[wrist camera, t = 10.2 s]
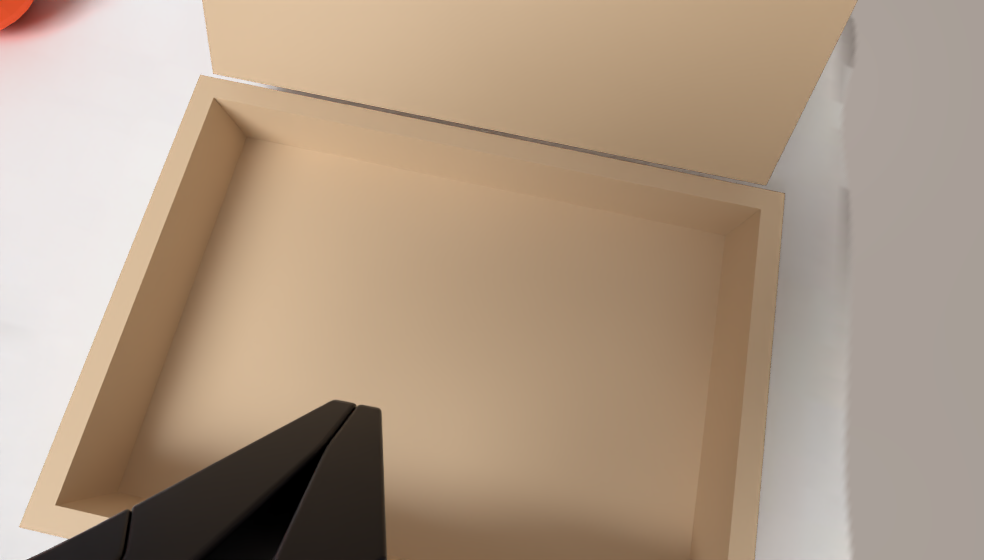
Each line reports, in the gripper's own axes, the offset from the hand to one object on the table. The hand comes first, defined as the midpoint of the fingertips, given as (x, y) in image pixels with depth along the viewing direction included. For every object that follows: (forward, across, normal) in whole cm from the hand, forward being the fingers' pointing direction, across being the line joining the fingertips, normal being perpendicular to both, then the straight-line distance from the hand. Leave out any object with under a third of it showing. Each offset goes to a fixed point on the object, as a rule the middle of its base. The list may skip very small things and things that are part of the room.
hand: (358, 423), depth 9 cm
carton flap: (+13, 0, +2) cm, 13 cm away
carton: (+10, 0, -6) cm, 12 cm away
